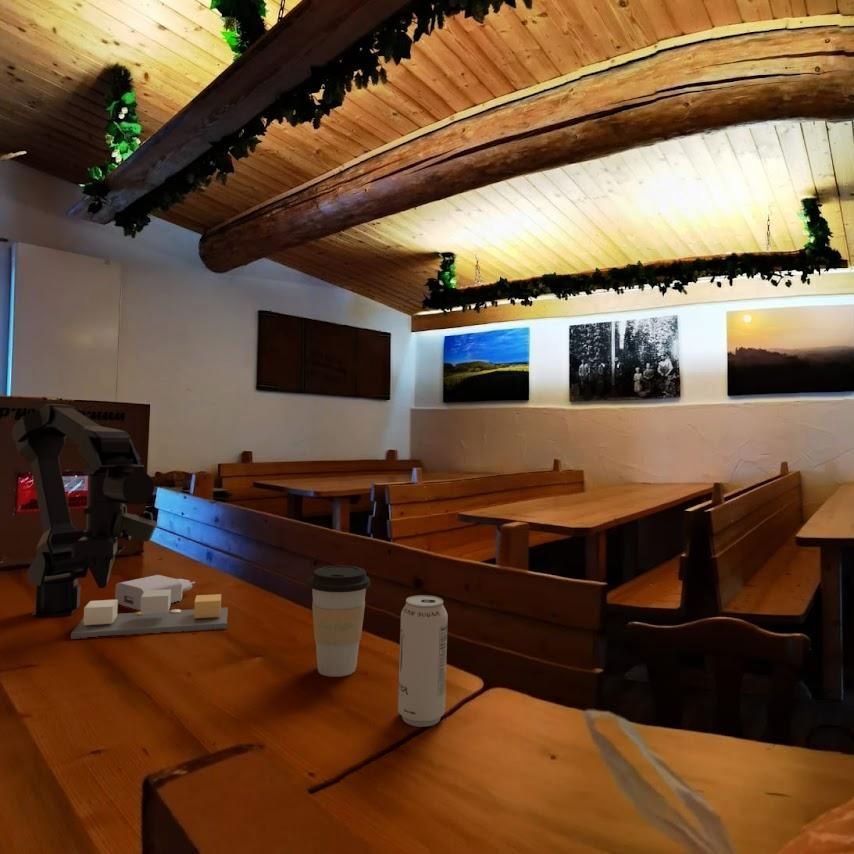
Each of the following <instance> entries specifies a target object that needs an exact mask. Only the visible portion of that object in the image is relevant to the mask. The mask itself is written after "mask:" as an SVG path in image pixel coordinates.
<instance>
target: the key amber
mask: <svg viewBox="0 0 854 854" xmlns="http://www.w3.org/2000/svg"><path fill="white" fill-rule="evenodd" d="M221 608H222V593H218V594H217V593H216V594H201V595H200V594H199V595H196V596H195V599H194V608H193V609H194V618H209V617H220V613H221Z"/></svg>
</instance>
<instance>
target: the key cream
mask: <svg viewBox="0 0 854 854" xmlns="http://www.w3.org/2000/svg"><path fill="white" fill-rule="evenodd" d="M118 606H119V605H118V600H115V599H103V600H102V599H101V600H90V601H89V602H88V603H87V604H86V605H85V606H84V607H83V618H84V625H96V624H112V623H113V622H114V620H115V619H116V617H117V614H118V608H119V607H118Z"/></svg>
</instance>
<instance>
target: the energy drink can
mask: <svg viewBox="0 0 854 854" xmlns="http://www.w3.org/2000/svg"><path fill="white" fill-rule="evenodd" d="M448 619H449V618H448V612H447V610H446V607H445V606H444V600H443V599H442V598H441V597H439V596H435V595H427V594H426V595H425V594H424V595H423V594H420V595H412V596H409V597H407V598H406V600H405V605H404V607H403V608H402V610H401V612H400V630H399V631H400V633H399V636H400V637H399V664H398V667H399V669H398V671H399V672H398V696H397V697H398V698H397V699H398V700H397V702H398V703H397V704H398V705H397V711H398V714H399V715H400V716H401V719H402V721H403V722H404V723H405V724H408V725H410V726H414V727H417V728H420V727H421V728H422V727H424V728H425V727H431V726H434V725H437V724H438V723H439V722H440V721H441V717H442V716H444V714H445V711H446V689H447V688H446V687H447V685H446V684H447V680H446V679H447V649H448V645H447V644H448Z"/></svg>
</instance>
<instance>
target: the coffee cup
mask: <svg viewBox="0 0 854 854" xmlns="http://www.w3.org/2000/svg"><path fill="white" fill-rule="evenodd" d="M308 581H309V583H308V584H307V585H308V587H309V588H311V589H312V590H311V591H312V603H311V607H312V621H313V636H314V641H315V650H316V663H317V664H316V665H317V672H318V673H319V674H320V675H321V676H326V677H331V678H333V677H334V678H337V677H338V678H339V677H340V678H341V677H346V676H351V675H352V674H353V673H355V671H356V669H357V662H358V654H359V647H360V646H359V645H360V641H361V638H362V631H363V623H364V615H365V608H366V599H365V598H366V593H367V592H366V591H367V588H369V587H370V586H371V582H370V581H371V578H370V577H369V576H367V572H366V570H365V569H364V568H362V567H358V566H353V565H327V566H323V567H318V568H316V569H314V571H313V576H311V577H310V578H309V580H308Z"/></svg>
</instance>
